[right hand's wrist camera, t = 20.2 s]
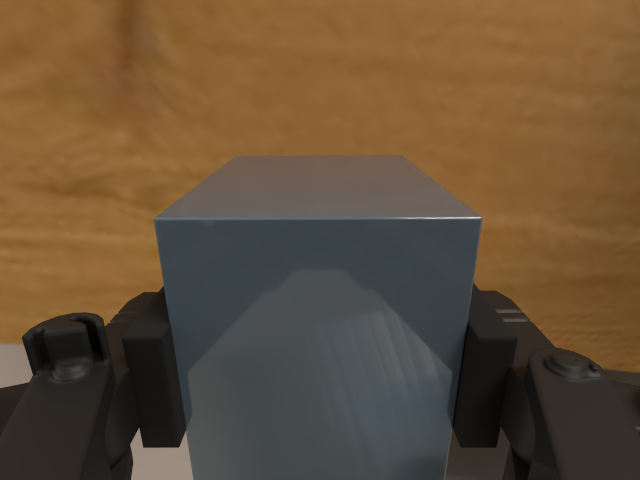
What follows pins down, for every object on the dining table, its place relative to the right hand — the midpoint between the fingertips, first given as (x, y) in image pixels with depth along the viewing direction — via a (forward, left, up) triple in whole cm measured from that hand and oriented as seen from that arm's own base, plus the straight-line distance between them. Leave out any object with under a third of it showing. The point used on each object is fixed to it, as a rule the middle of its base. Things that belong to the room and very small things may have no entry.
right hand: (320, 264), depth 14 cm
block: (0, 0, -2) cm, 2 cm away
